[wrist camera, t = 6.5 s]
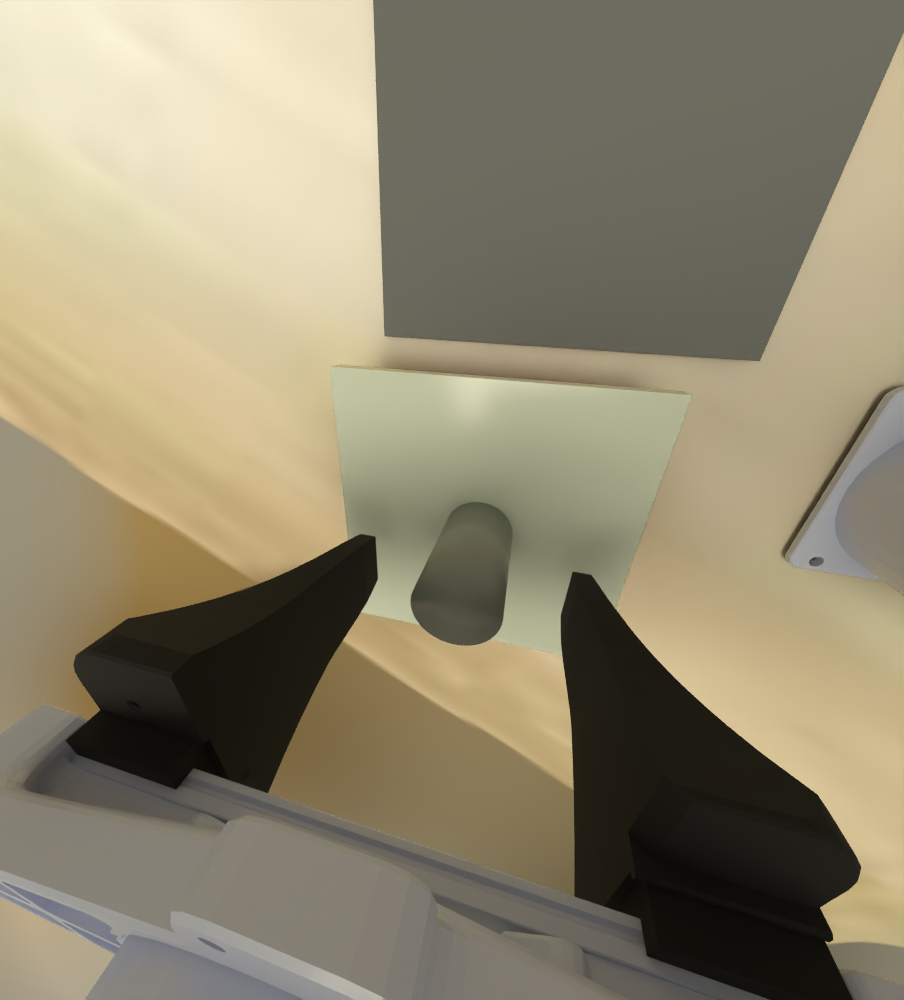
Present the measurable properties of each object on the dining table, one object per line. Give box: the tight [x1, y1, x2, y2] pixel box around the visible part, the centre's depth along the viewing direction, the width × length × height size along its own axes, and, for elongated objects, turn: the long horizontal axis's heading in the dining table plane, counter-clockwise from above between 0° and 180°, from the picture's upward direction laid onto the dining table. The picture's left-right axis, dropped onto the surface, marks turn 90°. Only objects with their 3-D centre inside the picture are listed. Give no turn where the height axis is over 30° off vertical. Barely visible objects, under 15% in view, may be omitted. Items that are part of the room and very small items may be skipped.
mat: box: [373, 0, 904, 361], centre depth 11 cm, size 15×15×1 cm
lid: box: [329, 365, 692, 655], centre depth 12 cm, size 12×12×5 cm
